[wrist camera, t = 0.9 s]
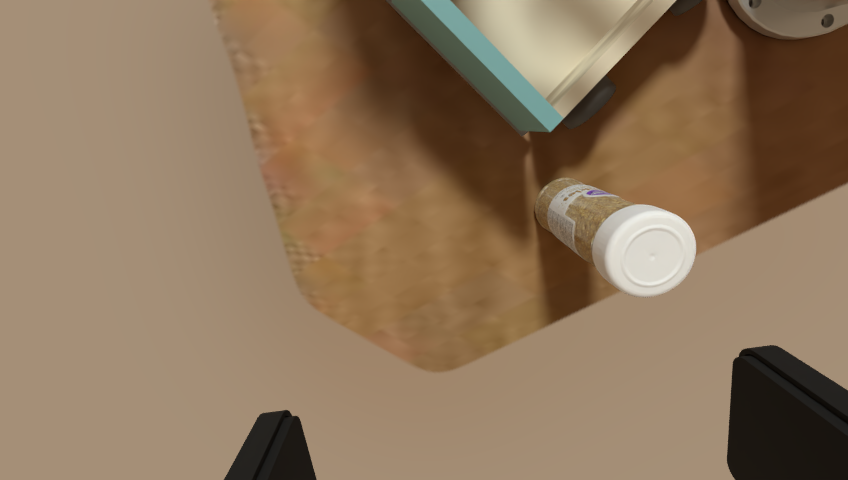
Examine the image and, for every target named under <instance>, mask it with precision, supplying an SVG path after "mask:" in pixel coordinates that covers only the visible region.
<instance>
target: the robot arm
mask: <svg viewBox="0 0 848 480" xmlns="http://www.w3.org/2000/svg"><path fill="white" fill-rule="evenodd" d="M728 2H729V4H730V6H731V7H732V9H733V10H734V11H735V13H736V14H737V16H738V17H739V18H740V19H741V20H742V21H743V22H744V23H746V24H747V25H748V26H749V27H750V28H752V29H754V30H755V31H757V32H759V33H761V34H763V35H765V36H769V37H773V38H777V39H790V40H797V39H802V38H808V37H814V36H818V35H822V34H826V33H829V32H832V31H834V30H836V29H838V28H840V27H842V26H844V25H846V24H848V0H728ZM727 463H728V467H729V469H730V472H731V474H732V475H733V477H734V478H735V480H848V390H846V389H844V388H843V387H841V386H840V385H838V384H837V383H835V382H834V381H832V380H830V379H829V378H827V377H826V376H824V375H822V374H821V373H819V372H818V371H816V370H815V369H813V368H812V367H810V366H808V365H807V364H805V363H803V362H802V361H801V360H799V359H797V358H796V357H794V356H793V355H791V354H789V353H788V352H786V351H785V350H783V349H782V348H780V347H778V346H773V345H770V346H762V347H755V348H747V349H744V350H742V351H741V352H740V354H739V357H737V358H735V359H734V361H733V371H732V387H731V403H730V420H729V435H728V452H727ZM224 480H316V476H315V472H314V469H313V465H312V462H311V458H310V454H309V451H308V447H307V443H306V440H305V436H304V432H303V429H302V425H301V421H300V419H299V417H297V416H292V415H291V413H290V412H289V411H288V410H284V411H276V412H269V413H262V414H260V416H259V417H258V418H257V420H256V422H255V424H254V426H253V428H252V429H251V431H250V433H249V435H248V437H247V439H246V440H245V442H244V444H243V446H242V448H241V450H240V452H239V453H238V455H237V457H236V459H235V461H234V463H233V465H232V466H231V468H230V470H229V472H228V474H227V475H226V477H225V479H224Z"/></svg>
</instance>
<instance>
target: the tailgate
mask: <svg viewBox="0 0 848 480" xmlns="http://www.w3.org/2000/svg"><path fill="white" fill-rule="evenodd" d="M386 1H387V2H388V3H389V4H390V5H391V6H392V7H393V8H394V9H395V10H396V11H397V12H398V13H399V14H400V15H401V16H402V17H403V18H404V19H405V20H406V21H407V22H408V23H409V24H410V25H411V26H412V27H413V28H414V29H415V30H416V31H417V32H418V33H419V34H420V35H421V36H422V37H423V38H424V39H425V40H426V41H427V42H428V43H429V44H430V45H431V46H432V47H433V48H434V49H435V50H436V51H437V52H438V53H439V54H440V55H441V56H442V57H443V58H444V59H445V60H446V61H447V62H448V63H449V64H450V65H451V66H452V67H453V68H454V69H455V70H456V71H457V72H458V73H459V74H460V75H461V76H462V77H463V78H464V79H465V80H466V81H467V82H468V83H469V84H470V85H471V86H472V87H473V88H474V89H475V90H476V91H477V92H478V93H479V94H480V95H481V96H482V97H483V98H484V99H485V100H486V101H487V102H488V103H489V104H490V105H491V106H492V107H493V108H494V109H495V110H496V111H497V112H498V113H499V114H500V115H501V116H502V117H503V118H504V119H505V120H506V121H507V122H508V123H509V124H510V125H511V126H512V127H513V128H514V129H515V130H516V131H517V132H518V133H519V134H520V135H521V136H523V135H525V134H526V133H527V132H528V131H537V132H551V131H552V130H553V129H554V128H555V127H556V126H557V125H558V124H559V123H560V121H561V120H562V119H563V117H562V116H561V115H560V114H559V113H558V112H557V111H556V110H555V109H554V108H553V107H552V106H551V105H550V104H549V103H548V102H547V100H546V99H545V98H544V97H543V96H542V95H541V94H540V93H539V92H538V91H537V90H536V89H535V88H534V87H533V86H532V85H531V84H530V83H529V82H528V81H527V80H526V79H525V78H524V77H523V76H522V74H521V73H520V72H519V71H518V70H517V69H516V68H515V67H514V66H513V65H512V64H511V63H510V62H509V61H508V60H507V59H506V58H505V57H504V56H503V55H502V54H501V53H500V52H499V51H498V49H497V48H496V47H495V46H494V45H493V44H492V43H491V42H490V41H489V40H488V39H487V38H486V37H485V36H484V35H483V34H482V33H481V32H480V31H479V30H478V29H477V28H476V27H475V26H474V25H473V23H472V22H471V21H470V20H469V19H468V18H467V17H466V16H465V15H464V14H463V13H462V12H461V11H460V10H459V9H458V8H457V7H456V6H455V5H454V4H453V3H452V2H451V1H450V0H386Z"/></svg>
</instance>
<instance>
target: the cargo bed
mask: <svg viewBox="0 0 848 480" xmlns="http://www.w3.org/2000/svg"><path fill="white" fill-rule="evenodd" d="M450 1H451V2H452V3H453V4H454V5H455V6H456V7H457V8H458V9H459V10H460V11H461V12H462V13H463V14H464V15H465V16H466V17H467V18H468V19H469V20H470V21H471V22H472V23H473V25H474V26H475V27H476V28H477V29H478V30H479V31H480V32H481V33H482V34H483V35H484V36H485V37H486V38H487V39H488V40H489V41H490V42H491V43H492V44H493V45H494V46H495V47H496V48H497V49H498V51H499V52H500V53H501V54H502V55H503V56H504V57H505V58H506V59H507V60H508V61H509V62H510V63H511V64H512V65H513V66H514V67H515V68H516V69H517V70H518V71H519V72H520V73H521V74H522V76H523V77H524V78H525V79H526V80H527V81H528V82H529V83H530V84H531V85H532V86H533V87H534V88H535V89H536V90H537V91H538V92H539V93H540V94H541V95H542V96H543V97H544V98H545V99H546V100H547V102H548V103H549V104H550V105H551V106H552V107H553V108H554V109H555V110H556V111H557V112H558V113H559V114H560V115H561V116H562V117H563V119H562V120H561V121H560V122H562V123H563V124H564V125H565V126H566V127H567V128H568V129H573V128H575V127H577V126H579V125H581V124H582V123H584V122H585V121H587V120H588V119H589V118H591V117H592V116H593V115H594V114H595V113H597V112H598V111H599V110H600V109H601V108H602V107H603V106H604V105H605V104H606V103H607V101H608V100H609V99H610V98H611V96H612V95H613V93H614V92H615V89H616V85H615V84H614V83H613V82H612V81H611V80H610V79H609V78H608V77H607V76H606V74H607V73H608V72H609V70H610V69H611V68H612V67H613V66H614V65H615V64H616V63H617V62H618V61H619V60H620V59H621V58H622V57H623V56H624V55H625V54H626V53H627V52H628V51H629V50H630V48H631V47H632V46H633V45H634V44H635V43H636V42H637V41H638V40H639V39H640V38H641V37H642V36H643V35H644V34H645V33H646V32H647V31H648V30H649V29H650V27H651V26H652V25H653V24H654V23H655V22H656V21H657V20H658V19H659V18H660V17H661V16H662V15H663V14H664V13H665V12H666V11H667V10H668V9H669V10H670V11H671V12H672V13H673V14H674V15H675V16H678V15H680V14H683V13H684V12H686V11H688V10H690V9H691V8H693V7H694V6H695V5H697V4H698V3H700V2H701V1H702V0H450Z"/></svg>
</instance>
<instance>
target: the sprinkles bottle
mask: <svg viewBox="0 0 848 480" xmlns="http://www.w3.org/2000/svg"><path fill="white" fill-rule="evenodd" d="M535 214H536V218H537V220H538V222H539V223H540V225H541V226H542V227H543V228H544V229H546V230H548V231H549V232H551V233H553V234H554V235H555V236H556V237H557V238H558V239H559V240H560V241H562V242H563V243H564V244H565V245H567V246H568V247H569V248H570V249H572V250H573V251H574V252H575V253H577V254H578V255H579V256H580V257H582V258H583V259H584V260H585V261H587V262H589V263H591V264H592V265H593V266H595V267H596V269H597V270H598V272H599V273H600V274H601V275H602V277H603V278H605V279H606V280H607V281H608V282H609V283H611V284H612V285H613V286H615V287H616V288H617V289H619V290H620V291H622V292H624V293H626V294H628V295H631V296H635V297H653V296H657V295H661V294H663V293H666V292H668V291H670V290H671V289H673V288H674V287H676V286H677V285H678V284H679V283H681V282H682V281H683V279H684V278H685V277H686V276H687V274H688V273H689V271H690V270H691V268H692V265H693V263H694V260H695V255H696V241H695V237H694V234H693V232H692V230H691V228H690V227H689V225H688V224H687V223H686V222H685V221H684V220H683V219H681V218H680V217H679V216H677V215H675V214H673V213H671V212H668V211H666V210H664V209H661V208H658V207H654V206H651V205H637V204H634V203H632V202H629V201H626V200H623V199H621V198H620V197H618V196H615V195H613V194H610V193H607V192H605V191H602V190H600V189H597V188H595V187H592V186H589V185H584V184H583V183H581V182H580V181H578V180H575V179H572V178H560V179H556V180H553V181H552V182H550V183H549V184H547V185H546V186H544V187H543V189H542V190H541V191H540V193H539V194H538V197H537V199H536V203H535Z"/></svg>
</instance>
